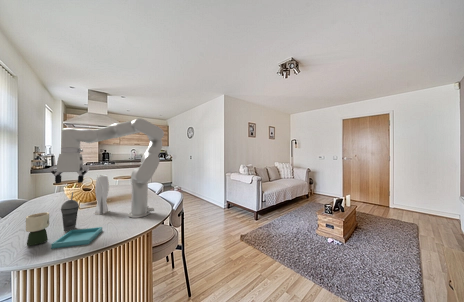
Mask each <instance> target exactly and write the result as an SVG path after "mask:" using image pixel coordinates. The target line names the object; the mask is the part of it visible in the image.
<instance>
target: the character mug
mask: <svg viewBox="0 0 464 302" xmlns="http://www.w3.org/2000/svg"><path fill="white" fill-rule="evenodd" d="M49 226H50V212H48V211H47V212H39V213H38V212H36V213H33V214H29V215H27V216H26V217H25V232H28V235H27V241H26V246H27V247H31V246H35V245H40V244H43V243H46V242H48V240H49V239H48V238H49V237H48V232H47V229H48V228H49Z"/></svg>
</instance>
